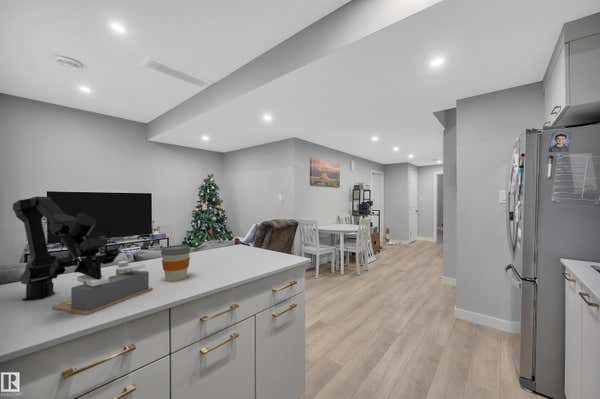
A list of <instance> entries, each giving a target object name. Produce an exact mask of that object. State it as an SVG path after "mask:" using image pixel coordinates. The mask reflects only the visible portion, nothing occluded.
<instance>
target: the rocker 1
mask: <svg viewBox="0 0 600 399" xmlns="http://www.w3.org/2000/svg"><path fill="white" fill-rule="evenodd" d="M101 276H102V277H101V279H98V280H97V279H95V278H93V277H90V276H88V275H85V274H83V275H80V276H79V275H78V276H77V277H76V281H77V282H78V283H79V282H80V283H82V284H87V285H90V286H96V285H100V284H103V283H107V282H109V278H108V277H107V276H106V275H102V274H101Z"/></svg>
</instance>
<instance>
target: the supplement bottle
mask: <svg viewBox="0 0 600 399" xmlns="http://www.w3.org/2000/svg"><path fill="white" fill-rule="evenodd" d="M128 267H131V266H130V263H129V260H121V261H118V262H117V267H116V268H115V275H119V274H122V273H119V272H118V270H120V269H124V268H128ZM124 273H125V272H124Z"/></svg>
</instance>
